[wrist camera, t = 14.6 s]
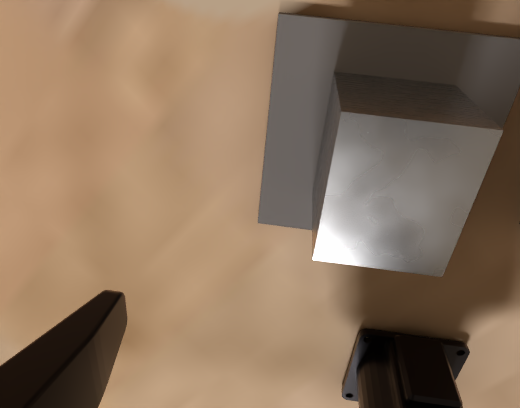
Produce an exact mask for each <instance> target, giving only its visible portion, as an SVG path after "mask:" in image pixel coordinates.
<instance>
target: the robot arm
mask: <svg viewBox="0 0 520 408" xmlns="http://www.w3.org/2000/svg"><path fill="white" fill-rule="evenodd" d="M126 325H127V311H126V302H125V295H124V294H123V293H122V292H118V291H111V290H105V291H102V292H101V293H100V294H98V295H97V296H95V297H94V298H93V299H91V300H90V301H89V302H87V303H86V304H84V305H83V306H82V307H80V308H79V309H78V310H76V311H75V312H74V313H72V314H71V315H69V316H68V317H67V318H65V319H64V320H63V321H61V322H60V323H58V324H57V325H56V326H54V327H53V328H52V329H50V330H49V331H47V332H46V333H45V334H43V335H42V336H41V337H39V338H38V339H36V340H35V341H34V342H32V343H31V344H30V345H28V346H27V347H25V348H24V349H23V350H21V351H20V352H19V353H17V354H16V355H15V356H13V357H12V358H10V359H9V360H8V361H6V362H5V363H4V364H2V365H1V366H0V408H98V406H99V404H100V402H101V399H102V397H103V395H104V392H105V389H106V386H107V383H108V380H109V377H110V374H111V371H112V368H113V365H114V362H115V359H116V356H117V353H118V350H119V347H120V344H121V341H122V338H123V335H124V332H125V329H126ZM366 337H368V338H366ZM469 353H470V351H469V349H468V346H467V344H466V343H464V342H459V341H452V340H445V339H437V338H430V337H423V336H416V335H408V334H401V333H394V332H387V331H379V330H372V329H364V330H361V331H360V332H359V334H358V337H357V341H356V344H355V347H354V350H353V354H352V357H351V360H350V363H349V367H348V370H347V373H346V376H345V380H344V383H343V386H342V397H343V398H344V399H346V400H352V401H358V402H359V408H463V406H462V400H461V397H460V394H459V391H458V388H457V385H456V382H455V380H456V378H457V376H458V374H459V372H460V371H461V369H462V367H463V365H464V363H465V361H466V359H467V357H468V355H469Z"/></svg>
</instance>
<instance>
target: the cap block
mask: <svg viewBox="0 0 520 408" xmlns="http://www.w3.org/2000/svg"><path fill="white" fill-rule="evenodd" d="M503 131H504V130H503V129H501V128H500V127H499V126H498V125H497V124H496V123H495V122H494V121H493V120H492V119H491V118H490V117H489V116H488V115H487V114H486V113H485V112H484V111H483V110H481V109H480V108H479V107H478V106H477V105H476V104H475V103H474V102H473V101H472V100H471V99H470V98H469V97H468V96H467V95H466V94H465V93H464V92H463V91H461V90H460V89H459V88H458V87H457V86H456V85H450V84H441V83H432V82H423V81H414V80H405V79H396V78H388V77H379V76H370V75H361V74H352V73H343V72H334V74H333V79H332V85H331V91H330V96H329V102H328V108H327V113H326V119H325V125H324V131H323V136H322V142H321V148H320V153H319V159H318V165H317V170H316V176H315V182H314V187H313V193H312V258H313V260H316V261H324V262H331V263H339V264H347V265H354V266H362V267H369V268H377V269H384V270H392V271H400V272H407V273H415V274H422V275H430V276H438V277H443V274H444V272H445V270H446V267H447V265H448V262H449V260H450V258H451V255H452V253H453V251H454V248H455V246H456V243H457V241H458V239H459V236H460V234H461V231H462V229H463V227H464V224H465V222H466V219H467V217H468V215H469V212H470V210H471V207H472V205H473V203H474V200H475V198H476V195H477V193H478V191H479V188H480V186H481V183H482V181H483V179H484V176H485V174H486V171H487V169H488V167H489V164H490V162H491V159H492V157H493V155H494V152H495V150H496V147H497V145H498V143H499V140H500V138H501V136H502V133H503Z"/></svg>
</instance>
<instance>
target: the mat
mask: <svg viewBox="0 0 520 408" xmlns="http://www.w3.org/2000/svg"><path fill="white" fill-rule="evenodd" d="M334 72H343V73H352V74H361V75H370V76H379V77H388V78H396V79H405V80H414V81H423V82H432V83H441V84H450V85H456V86H457V87H458V88H459V89H460V90H461V91H463V92H464V93H465V94H466V95H467V96H468V97H469V98H470V99H471V100H472V101H473V102H474V103H475V104H476V105H477V106H478V107H479V108H480V109H481V110H483V111H484V112H485V113H486V114H487V115H488V116H489V117H490V118H491V119H492V120H493V121H494V122H495V123H496V124H497V125H498V126H499V127H500V128H501V129H502V128H503V126H504V124H505V121H506V119H507V116H508V114H509V112H510V109H511V107H512V104H513V102H514V99H515V97H516V95H517V92H518V90H519V87H520V38H514V37H505V36H496V35H486V34H477V33H467V32H458V31H449V30H439V29H430V28H421V27H411V26H402V25H393V24H383V23H374V22H365V21H355V20H346V19H337V18H327V17H318V16H309V15H299V14H290V13H280V12H279V15H278V25H277V35H276V45H275V55H274V65H273V75H272V85H271V95H270V105H269V115H268V125H267V135H266V145H265V156H264V166H263V176H262V186H261V196H260V206H259V216H258V223H261V224H269V225H277V226H284V227H292V228H300V229H308V230H312V193H313V187H314V182H315V176H316V170H317V165H318V159H319V153H320V148H321V142H322V136H323V131H324V125H325V119H326V113H327V108H328V102H329V96H330V91H331V85H332V79H333V74H334Z"/></svg>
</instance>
